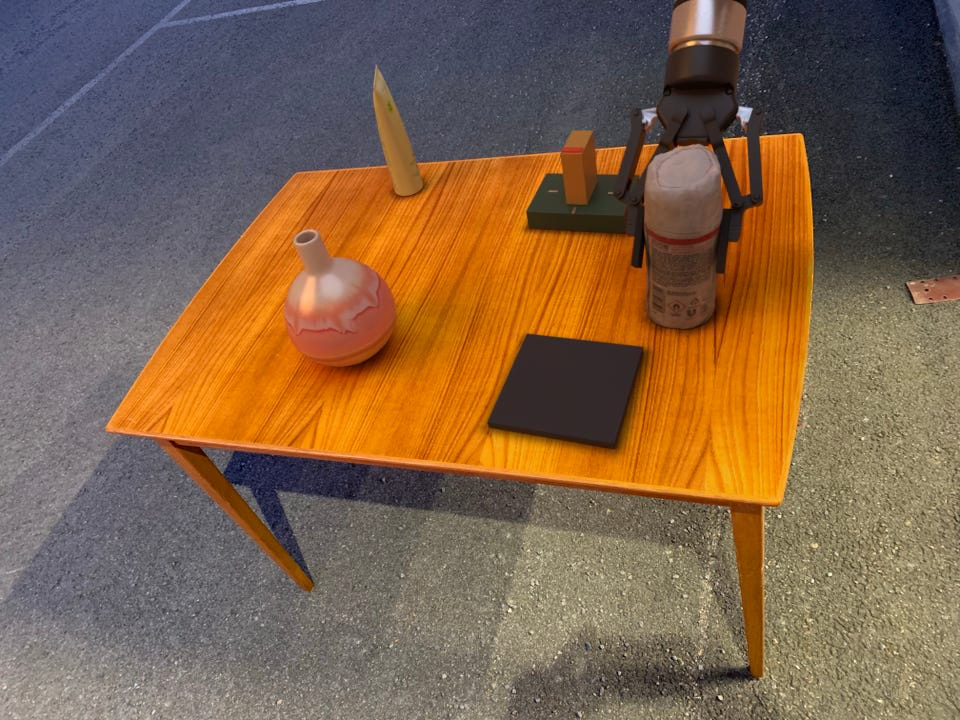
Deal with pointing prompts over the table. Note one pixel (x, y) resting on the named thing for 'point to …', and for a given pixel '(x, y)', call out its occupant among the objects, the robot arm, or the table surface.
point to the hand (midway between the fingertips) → (677, 269)
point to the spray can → (682, 236)
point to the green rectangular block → (578, 207)
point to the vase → (337, 306)
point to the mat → (568, 390)
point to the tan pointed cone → (395, 141)
